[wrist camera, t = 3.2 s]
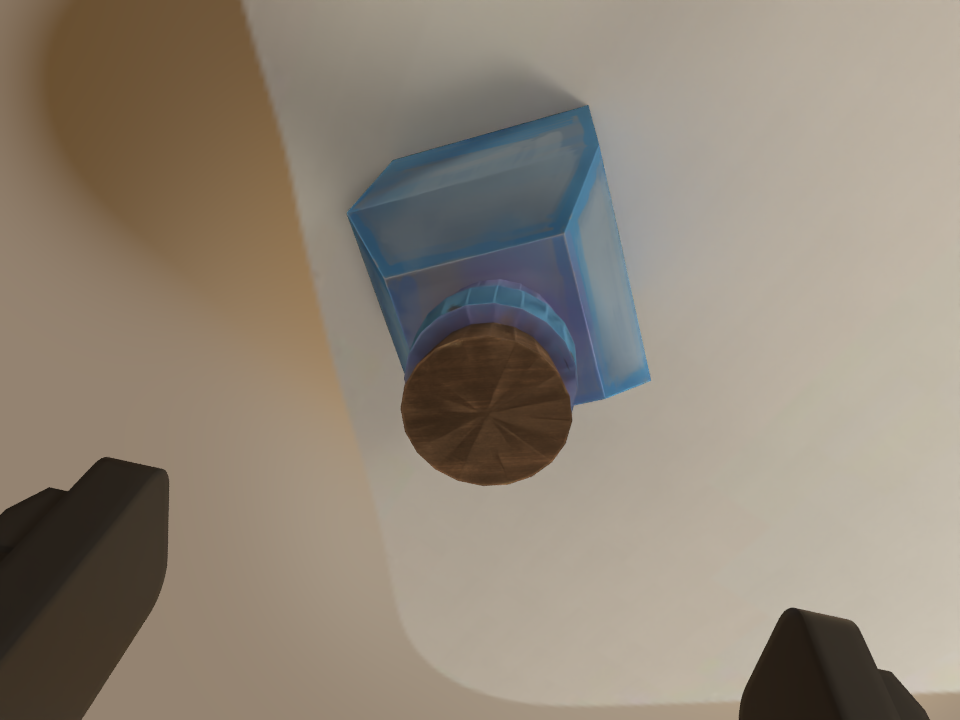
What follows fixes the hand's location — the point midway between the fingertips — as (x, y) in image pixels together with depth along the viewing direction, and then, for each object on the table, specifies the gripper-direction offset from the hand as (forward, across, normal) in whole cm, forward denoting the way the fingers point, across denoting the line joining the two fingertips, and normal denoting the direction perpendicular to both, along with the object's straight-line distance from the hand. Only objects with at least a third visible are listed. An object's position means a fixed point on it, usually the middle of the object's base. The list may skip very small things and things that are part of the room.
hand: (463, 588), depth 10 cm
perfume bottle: (+17, 0, 0) cm, 17 cm away
